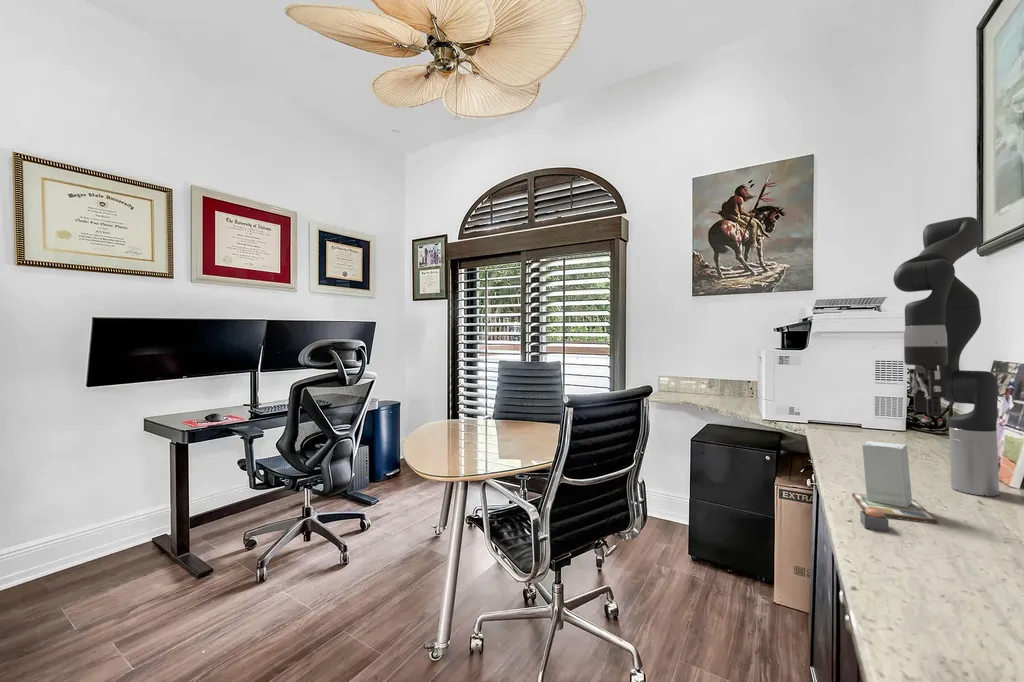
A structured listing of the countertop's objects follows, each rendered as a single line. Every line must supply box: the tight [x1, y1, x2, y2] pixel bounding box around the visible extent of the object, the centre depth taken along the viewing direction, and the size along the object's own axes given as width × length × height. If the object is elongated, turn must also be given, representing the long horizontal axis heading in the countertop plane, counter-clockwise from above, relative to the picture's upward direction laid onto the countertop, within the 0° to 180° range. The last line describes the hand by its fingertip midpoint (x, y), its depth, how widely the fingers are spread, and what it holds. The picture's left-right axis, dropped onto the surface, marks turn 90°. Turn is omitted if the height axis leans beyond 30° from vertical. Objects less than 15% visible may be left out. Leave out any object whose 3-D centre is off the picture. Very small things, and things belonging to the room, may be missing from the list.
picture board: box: [851, 492, 938, 524], centre depth 112 cm, size 15×13×1 cm
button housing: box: [859, 510, 890, 532], centre depth 101 cm, size 4×4×3 cm
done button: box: [865, 508, 882, 518], centre depth 101 cm, size 3×3×2 cm
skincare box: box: [861, 440, 913, 508], centre depth 114 cm, size 8×6×15 cm
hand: (926, 413), depth 105 cm, fingers open, 8 cm apart
